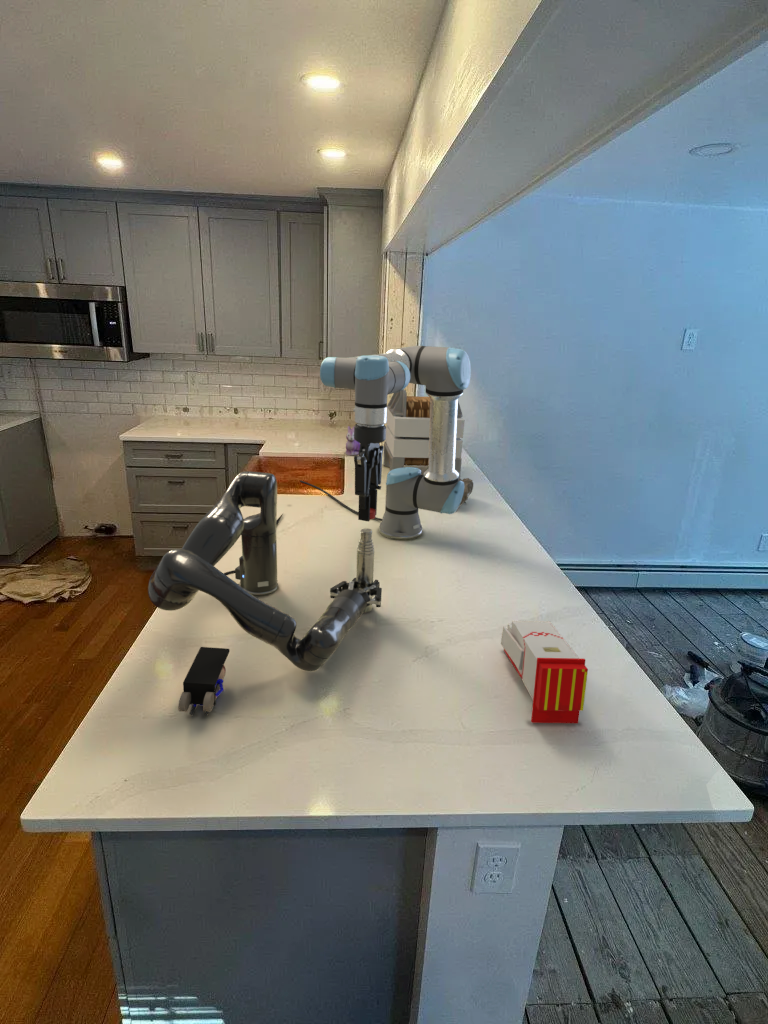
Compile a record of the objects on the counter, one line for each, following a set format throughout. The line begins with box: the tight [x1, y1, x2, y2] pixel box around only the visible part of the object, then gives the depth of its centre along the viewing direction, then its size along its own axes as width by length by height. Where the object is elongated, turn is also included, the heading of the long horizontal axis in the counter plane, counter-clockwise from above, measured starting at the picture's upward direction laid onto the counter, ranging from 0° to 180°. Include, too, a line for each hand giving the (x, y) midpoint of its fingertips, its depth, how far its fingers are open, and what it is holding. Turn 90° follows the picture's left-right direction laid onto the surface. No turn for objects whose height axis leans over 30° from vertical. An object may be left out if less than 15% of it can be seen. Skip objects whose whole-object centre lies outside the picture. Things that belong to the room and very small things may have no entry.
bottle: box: [355, 528, 375, 614], centre depth 146 cm, size 4×4×22 cm
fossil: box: [458, 477, 474, 508], centre depth 233 cm, size 22×10×15 cm
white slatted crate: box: [382, 389, 465, 479], centre depth 268 cm, size 34×33×41 cm
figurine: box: [344, 425, 360, 456], centre depth 303 cm, size 9×10×15 cm
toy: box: [500, 620, 589, 724], centre depth 121 cm, size 12×13×30 cm
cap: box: [370, 508, 377, 520], centre depth 141 cm, size 4×4×2 cm
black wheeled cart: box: [178, 646, 230, 717], centre depth 112 cm, size 7×8×15 cm
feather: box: [276, 513, 284, 527], centre depth 210 cm, size 2×28×2 cm
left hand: (368, 581), depth 150 cm, fingers closed on bottle, 4 cm apart
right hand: (367, 516), depth 141 cm, fingers closed on cap, 4 cm apart
